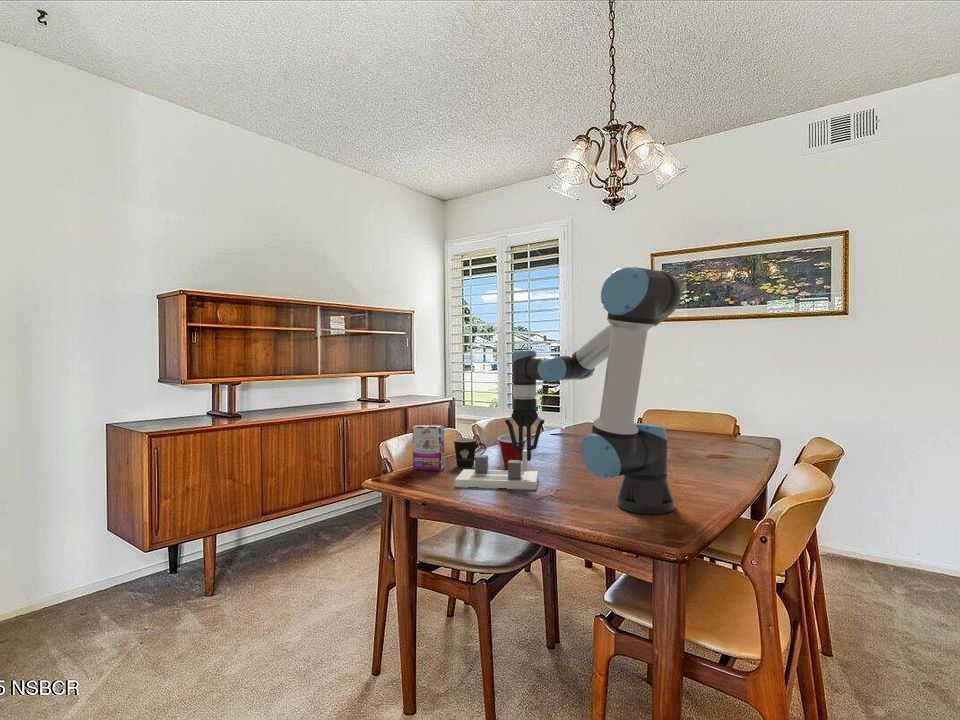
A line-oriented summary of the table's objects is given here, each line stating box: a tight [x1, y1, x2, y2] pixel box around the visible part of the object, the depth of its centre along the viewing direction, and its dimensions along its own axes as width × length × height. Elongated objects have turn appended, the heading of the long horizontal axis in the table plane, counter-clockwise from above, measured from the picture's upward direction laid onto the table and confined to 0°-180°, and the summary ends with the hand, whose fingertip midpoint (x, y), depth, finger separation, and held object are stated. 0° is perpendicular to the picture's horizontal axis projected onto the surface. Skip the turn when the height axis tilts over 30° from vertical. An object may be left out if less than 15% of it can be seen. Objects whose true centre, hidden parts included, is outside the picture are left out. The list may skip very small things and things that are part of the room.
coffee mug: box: [453, 437, 487, 468], centre depth 190 cm, size 12×9×10 cm
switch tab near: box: [508, 460, 522, 479], centre depth 161 cm, size 4×4×5 cm
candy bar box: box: [411, 424, 446, 472], centre depth 186 cm, size 11×5×16 cm, turn 76°
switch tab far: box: [474, 454, 489, 472], centre depth 170 cm, size 4×4×5 cm
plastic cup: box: [497, 434, 527, 470], centre depth 185 cm, size 11×11×12 cm
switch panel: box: [454, 468, 539, 491], centre depth 166 cm, size 14×26×3 cm, turn 81°
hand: (525, 470), depth 161 cm, fingers closed
